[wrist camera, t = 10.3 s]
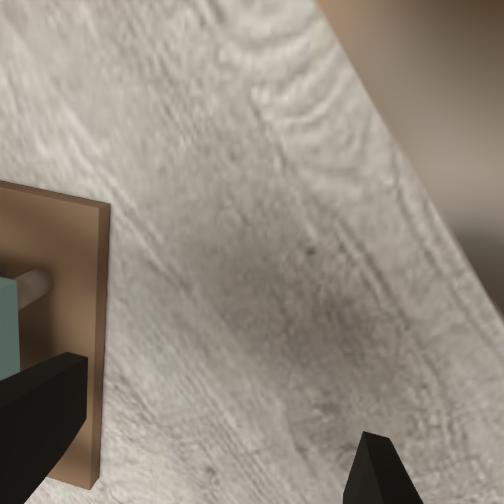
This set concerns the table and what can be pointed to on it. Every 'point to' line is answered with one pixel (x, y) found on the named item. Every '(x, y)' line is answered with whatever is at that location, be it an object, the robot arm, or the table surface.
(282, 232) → the table surface
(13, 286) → the teal rectangular block
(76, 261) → the peg rack
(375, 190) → the table surface
